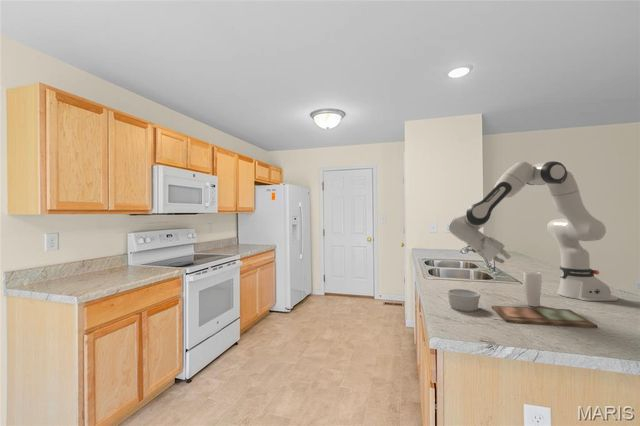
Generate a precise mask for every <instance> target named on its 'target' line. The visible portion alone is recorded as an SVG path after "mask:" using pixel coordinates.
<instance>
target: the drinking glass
mask: <svg viewBox="0 0 640 426" xmlns="http://www.w3.org/2000/svg"><path fill="white" fill-rule="evenodd" d="M522 277H523V286H524V287H523V288H524V294H525V296H524V297H525V304H526V306H527V307H528V306H529V307H531V308H540V306H541V294H542V293H541V292H542V281H543V280H542V273H541V272H538V271H529V270H528V271H523V276H522Z"/></svg>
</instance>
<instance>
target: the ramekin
mask: <svg viewBox="0 0 640 426" xmlns="http://www.w3.org/2000/svg"><path fill="white" fill-rule="evenodd" d="M447 295H448V302H449V305H450V307H451V308H453V310H455V311H456V310H457V311H460V312H475V311H476V310H478V308H479V303H480V298H481V294H480V293H479V292H477V291H475V290H471V289H464V288H453V289H449V290H448V291H447Z"/></svg>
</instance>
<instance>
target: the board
mask: <svg viewBox="0 0 640 426" xmlns="http://www.w3.org/2000/svg"><path fill="white" fill-rule="evenodd" d="M491 309H493V311H494V312H495V313H496V314H497V315H498V316H500V318H501V319H503V321H504V322H505V323H513V324H530V325H531V324H533V325H545V326H547V325H548V326H560V327H561V326H563V327H577V328H592V329H598V324H596V323H594V322H593V321H591V320H589V319H588V318H585V317H583V316H582V315H580V314H579V313H576V312H575V311H573V310H571V309H570V308H569V309H566V308H565V309H564V308H550V307H548V308H547V307H545V308H544V307H531V306H529V307H528V306H509V305H508V306H505V305H491Z"/></svg>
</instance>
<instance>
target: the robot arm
mask: <svg viewBox="0 0 640 426" xmlns="http://www.w3.org/2000/svg"><path fill="white" fill-rule="evenodd" d="M526 185H530V186H535V185H536V186H544V185H546V186H548V188H549V192H550V196H551V201H552V204H553V208H554V210H555V211H556V212H557V213H559V214H561V215H562V216H563V217H562V218H556V219H555V218H554V219H552V220H550V221H549V222H548V223H547V226H546V231H547V234H548V236H550V237H551V238H552V239H553V240H554V241H555V242H556V243H555V244H556V245H557V247H558V249H559V255H560V266H559V277H560V281H559V287H558V290H557V292H556V293H557V295H559V296H563V297H565V298H571V299H576V300H580V301H586V302H589V301H590V302H594V301H595V302H596V301H597V302H599V301H602V302H608V301H609V302H615V301H617V302H618V300H619V298H618V297H617V296H615V295H613V294H612V291H611V289H610V287H609V285H608V284H606V283H605V282H603V281H602V280H601V279H599V278H597V277H596V276H595V275H599V274H600V273H601V272H600V271H599V270H597V269H592V268H590V265H591V264H590V253H589V251H588V250H587V249H585V248H584V247H583V246H582V245H581V243H580V242H594V241H595V242H596V241H601V240H602V239H603V238H604V237H605V235H606V229H607V228H606V226H605V224H604V222H602V221H601V220H599V219H597V218H595V216H593V215H592V214H591V213H590V212H589V211H588V210H587V208H586V207H585V204H584V203H583V200H582V197H581V193H580V190H579V187H578V183H577V181H576V179H575V177H574V175H573V173H572V172H570V171H569V170H567V168H566V166H565V165H564V164H563V163H562V162H561V161H560V162H559V161H554V160H553V161H542V162H538V163H535V164H531V163H529V162H526V161H518V162H516V163H514V164H513V165H512V166H510V167H509V168H508V169H507V170H506V171H504V173H503V174H502V175H500V177H499V179H497V181H496V183H495V184H494V186H493V189H492V190H491V191H490V192H489V193H488V194H486V196H485V197H484V198H483V199H482V200H480V201H478V202H476V203H474V204H472V205H470V206H469V207H468V208H467V209H466V212H465V214H463V215H460V216H457V217H454V218H453V219H452V221H451V222H450V225H449V227H448V229H449V232H450V234H452V235H453V236H454V237H456V238H457V239H459V240H460V241H462V242H464V243H466V246H468V247H470V248H471V252H472V253H475V254H477V255H478V256H479V257H481V258H483V259H485V260H486V261H489V262H491V261H492V260H493V261H495V262H497V263H499V264H501V265H503V264H504V263H505V262H506V260H509V259H510V258H511V255H510V253H508V252H507V251H506V250H505V249H504V248H505V245H504V244H503V242H500V241H499V240H497V239H495V238H493V237H491V236H488V235H487V234H484V233H483V232H481V231H480V229H482V228H484V227H485V225H486V223H487V222H488V221H489V219H490V218H491V214H492V212H493V210H494V209H495V208H496V207H497V206H498V205H499V204H500V202H502V201H503V200H504V199H505V198H512V197H513V196H514V197H515V195H517V194H518V193H519V192H520V191H521V190H522V189H523V188H524V187H525V186H526ZM579 241H580V242H579ZM498 254H500V255H501V256H503V257H504V258H505V259H506V260H504V259H503V258H501V257H499V256H498Z"/></svg>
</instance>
